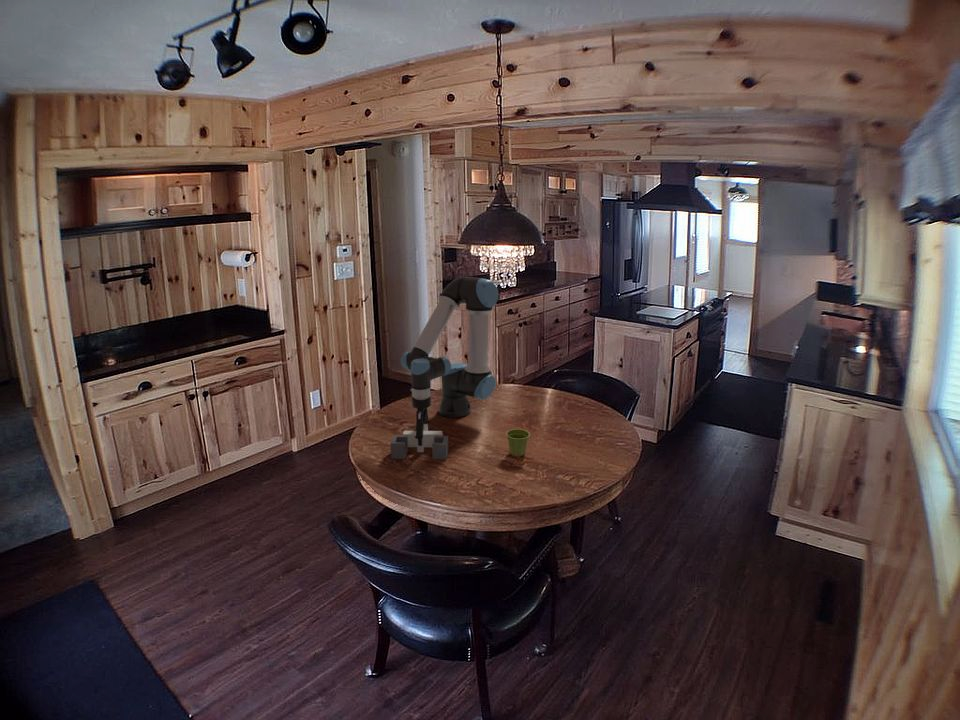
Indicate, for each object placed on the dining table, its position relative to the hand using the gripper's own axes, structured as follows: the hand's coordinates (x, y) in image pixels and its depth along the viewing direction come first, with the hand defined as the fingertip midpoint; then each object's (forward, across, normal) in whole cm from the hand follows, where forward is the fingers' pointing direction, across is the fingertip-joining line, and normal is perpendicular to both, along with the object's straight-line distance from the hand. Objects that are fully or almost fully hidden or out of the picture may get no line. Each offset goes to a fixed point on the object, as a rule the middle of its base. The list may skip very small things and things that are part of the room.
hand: (422, 445), depth 247 cm
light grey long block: (0, 0, 0) cm, 0 cm away
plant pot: (0, +6, +39) cm, 40 cm away
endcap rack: (0, +8, 0) cm, 9 cm away
